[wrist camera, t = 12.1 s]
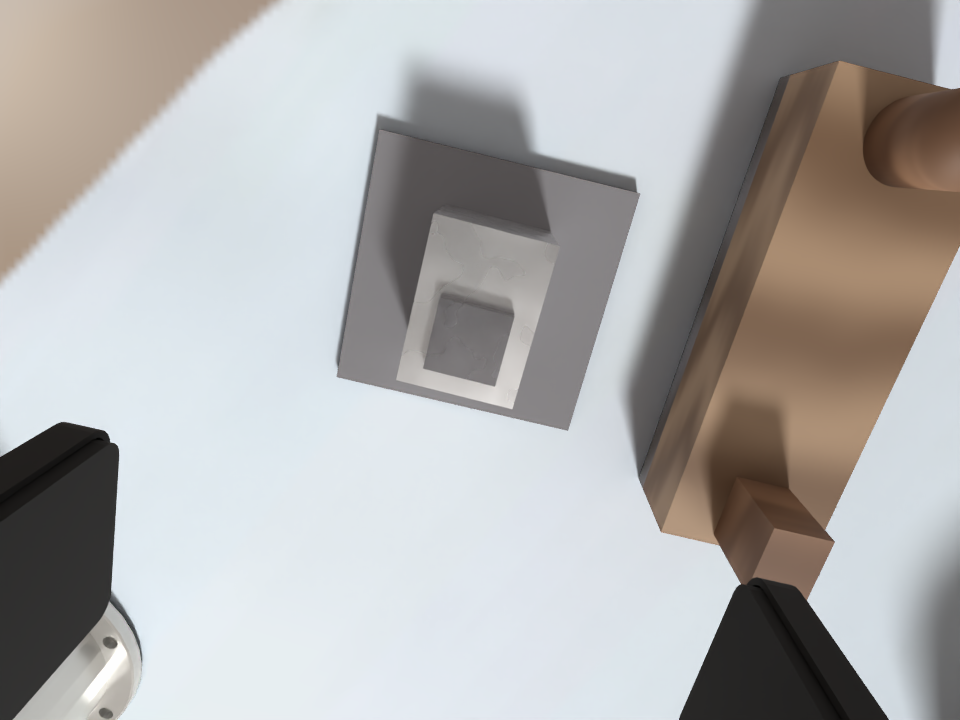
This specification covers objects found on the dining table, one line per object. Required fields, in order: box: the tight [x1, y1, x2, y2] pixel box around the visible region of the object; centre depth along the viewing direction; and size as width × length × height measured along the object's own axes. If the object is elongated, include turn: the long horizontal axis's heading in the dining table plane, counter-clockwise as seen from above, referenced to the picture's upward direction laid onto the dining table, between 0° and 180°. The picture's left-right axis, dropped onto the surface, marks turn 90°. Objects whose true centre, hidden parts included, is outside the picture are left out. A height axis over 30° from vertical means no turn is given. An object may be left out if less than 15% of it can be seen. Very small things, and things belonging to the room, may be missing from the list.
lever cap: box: [396, 204, 560, 409], centre depth 27 cm, size 7×5×6 cm
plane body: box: [639, 61, 960, 600], centre depth 26 cm, size 20×7×9 cm, turn 167°
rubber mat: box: [337, 129, 640, 431], centre depth 30 cm, size 12×12×1 cm
